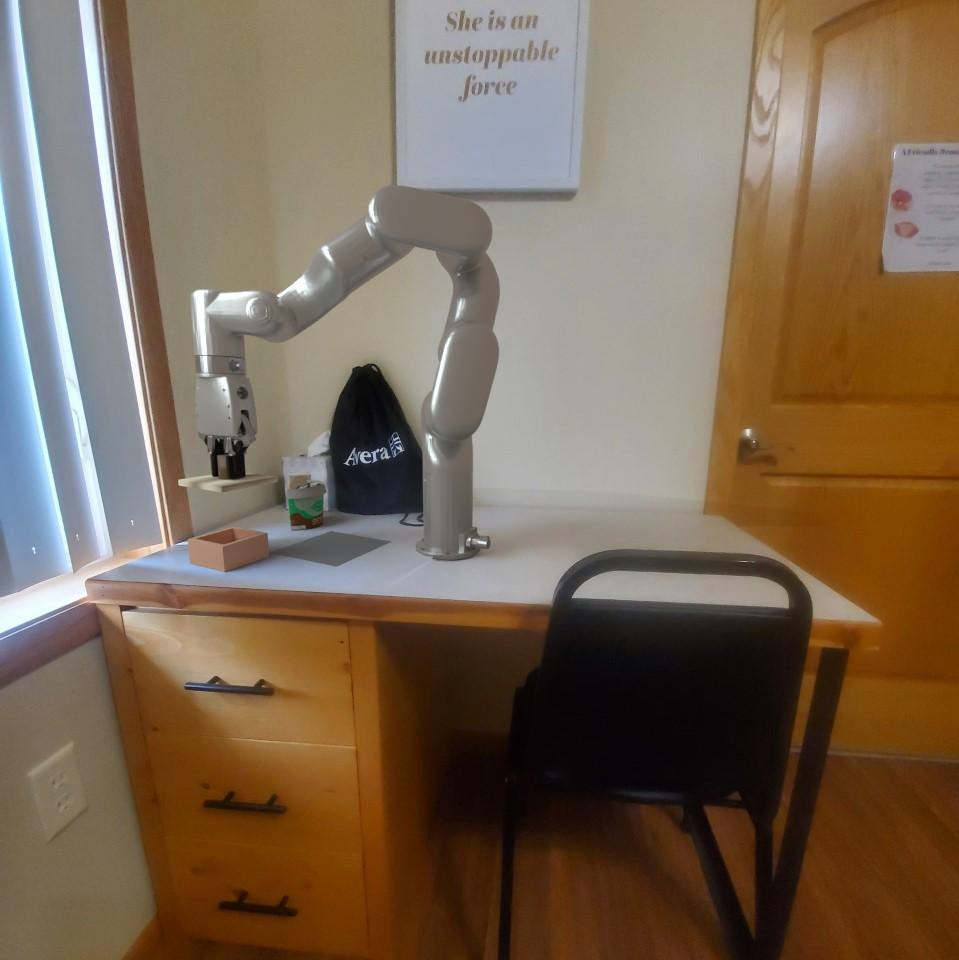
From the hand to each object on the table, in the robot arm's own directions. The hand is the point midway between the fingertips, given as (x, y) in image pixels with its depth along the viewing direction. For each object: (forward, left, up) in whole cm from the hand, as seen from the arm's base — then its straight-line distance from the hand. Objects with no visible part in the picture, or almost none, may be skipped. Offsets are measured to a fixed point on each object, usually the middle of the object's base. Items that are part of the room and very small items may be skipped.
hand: (228, 476), depth 84 cm
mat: (-11, -13, -16) cm, 23 cm away
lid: (0, 0, -1) cm, 1 cm away
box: (+13, -28, -16) cm, 35 cm away
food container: (+4, -23, -16) cm, 29 cm away
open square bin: (0, +1, -16) cm, 16 cm away
